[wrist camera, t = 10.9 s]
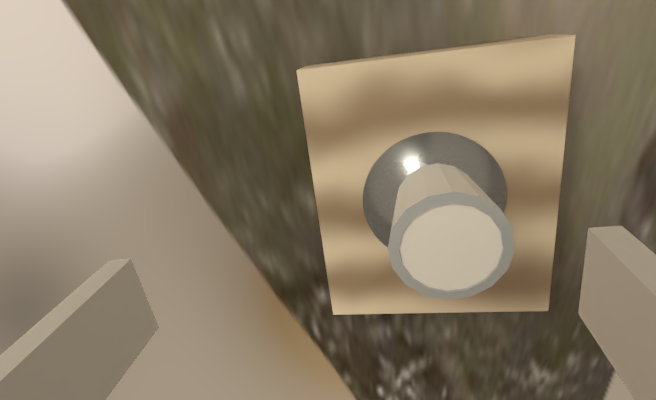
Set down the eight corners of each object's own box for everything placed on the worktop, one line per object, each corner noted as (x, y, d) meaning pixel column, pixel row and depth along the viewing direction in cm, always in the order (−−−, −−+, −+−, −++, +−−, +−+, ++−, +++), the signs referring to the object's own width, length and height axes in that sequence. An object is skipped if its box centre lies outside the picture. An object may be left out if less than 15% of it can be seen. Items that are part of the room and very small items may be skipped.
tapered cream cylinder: (499, 224, 28) (532, 279, 22) (408, 254, 30) (414, 314, 24) (467, 138, 26) (492, 172, 20) (372, 177, 28) (368, 220, 22)
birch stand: (307, 65, 30) (295, 70, 26) (549, 34, 27) (577, 34, 23) (338, 287, 37) (332, 316, 34) (531, 281, 34) (549, 312, 31)
